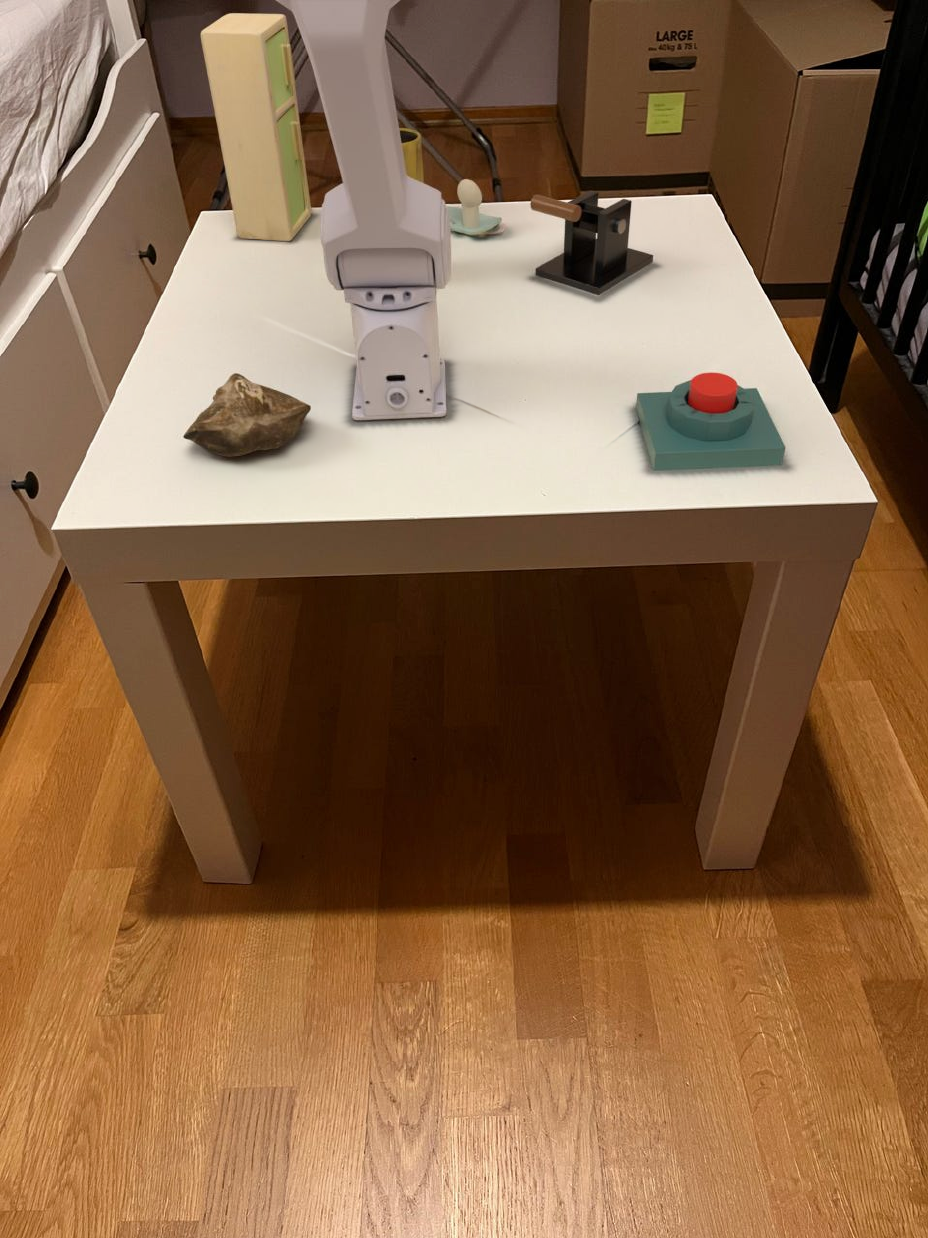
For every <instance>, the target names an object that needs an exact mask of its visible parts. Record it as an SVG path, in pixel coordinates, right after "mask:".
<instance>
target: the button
mask: <svg viewBox="0 0 928 1238" xmlns="http://www.w3.org/2000/svg"><path fill="white" fill-rule="evenodd" d="M690 380H691V383H690V390H689V397H688V404H689V406H690V407H692V408H693V409H695V410H697V411H701V412H705V413H710V414H718V413H726V412H729V411H731V410H732V409H733V408H734V404H735V399H736V393H737V388H738V385H739V384H738V383H737V381H736V380H735V378H733V377H731V376H729V375H727V374H724V373H720V372H711V371H710V372H703V373H698V374H697V375H694V376H693V377H692V378H691V379H690Z"/></svg>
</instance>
